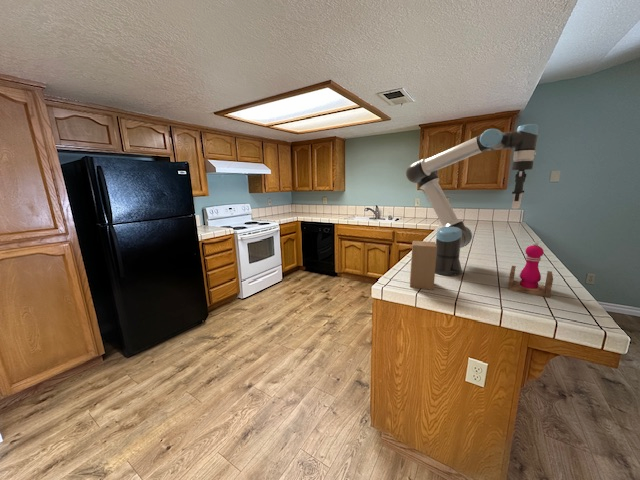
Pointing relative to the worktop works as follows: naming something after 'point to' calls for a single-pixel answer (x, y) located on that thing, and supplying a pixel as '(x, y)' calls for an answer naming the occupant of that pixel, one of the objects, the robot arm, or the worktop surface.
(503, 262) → the worktop surface
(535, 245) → the pepper mill
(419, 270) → the wooden block
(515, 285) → the holder
